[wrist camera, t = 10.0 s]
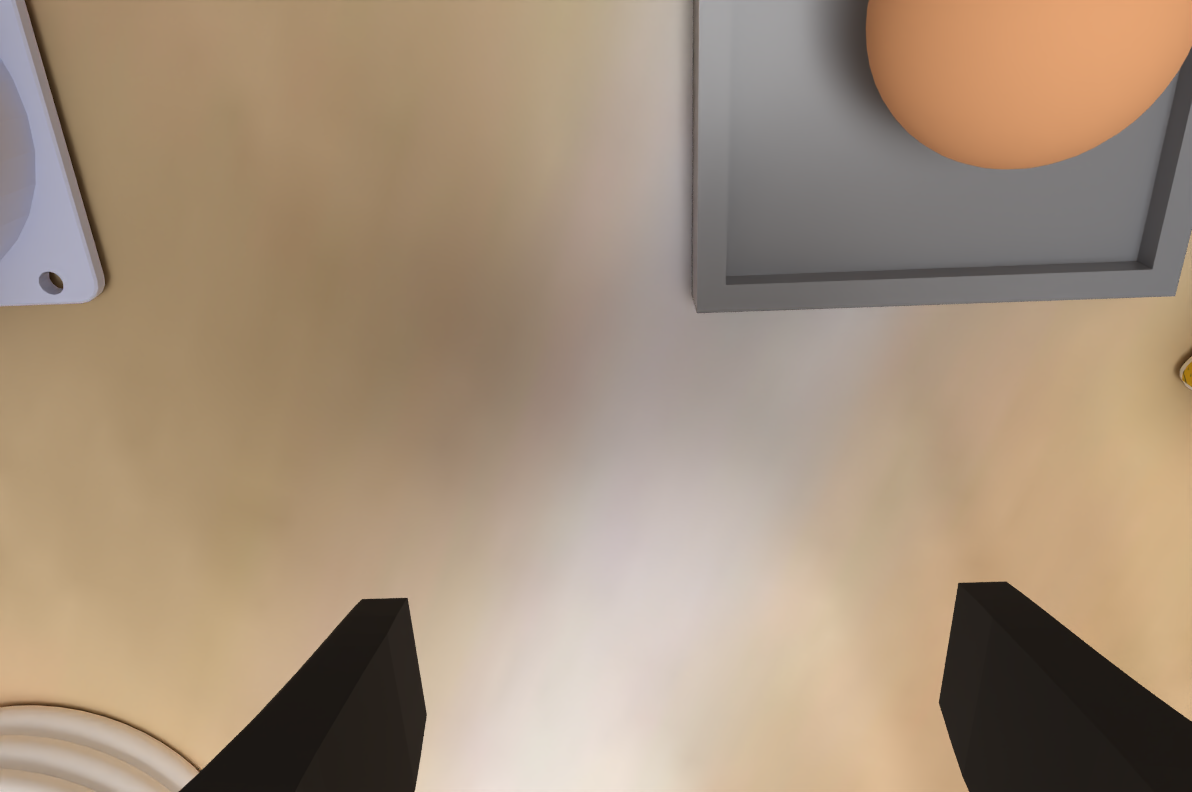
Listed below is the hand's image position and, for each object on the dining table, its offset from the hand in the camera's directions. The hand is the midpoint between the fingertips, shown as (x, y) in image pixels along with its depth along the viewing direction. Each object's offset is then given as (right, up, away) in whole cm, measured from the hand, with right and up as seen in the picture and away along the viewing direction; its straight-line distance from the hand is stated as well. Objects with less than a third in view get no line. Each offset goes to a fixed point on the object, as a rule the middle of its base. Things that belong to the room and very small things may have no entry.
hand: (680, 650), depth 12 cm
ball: (+6, +11, +5) cm, 13 cm away
